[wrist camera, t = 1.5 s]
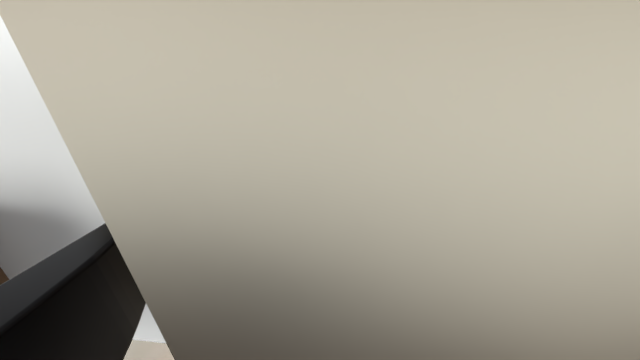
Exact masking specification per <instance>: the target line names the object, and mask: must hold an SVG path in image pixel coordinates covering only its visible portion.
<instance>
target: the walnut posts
mask: <svg viewBox="0 0 640 360" xmlns="http://www.w3.org/2000/svg"><path fill="white" fill-rule="evenodd" d="M8 280H10V279H9V278H8V277H7V275H6V274H5V273H4V271H3V270H2V269H1V267H0V285H1V284H3V283H4V282H6V281H8Z"/></svg>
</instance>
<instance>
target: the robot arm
mask: <svg viewBox="0 0 640 360" xmlns="http://www.w3.org/2000/svg"><path fill="white" fill-rule="evenodd" d="M145 305H146V302H145V300H144V298H143V296H142V294H141V292H140V290H139V288H138V286H137V284H136V282H135V280H134V278H133V276H132V274H131V272H130V270H129V269H128V267H127V265H126V263H125V261H124V259H123V257H122V255H121V253H120V251H119V249H118V247H117V245H116V243H115V241H114V239H113V237H112V235H111V233H110V231H109V229H108V227H107V225H106V223H104V224H103V225H101V226H99V227H98V228H96V229H94V230H93V231H91V232H89V233H88V234H86V235H84V236H82V237H81V238H79V239H77V240H76V241H74V242H72V243H71V244H69V245H67V246H65V247H64V248H62V249H60V250H59V251H57V252H55V253H54V254H52V255H50V256H49V257H47V258H45V259H43V260H42V261H40V262H38V263H37V264H35V265H33V266H32V267H30V268H28V269H26V270H25V271H23V272H21V273H20V274H18V275H16V276H15V277H13V278H11V279H10V280H8V281H6V282H4V283H3V284H1V285H0V360H123V359H124V357H125V355H126V352H127V350H128V348H129V346H130V344H131V341H132V339H133V337H134V334H135V332H136V330H137V327H138V324H139V322H140V319H141V316H142V313H143V310H144V307H145Z"/></svg>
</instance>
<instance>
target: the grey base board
mask: <svg viewBox="0 0 640 360" xmlns="http://www.w3.org/2000/svg"><path fill="white" fill-rule="evenodd" d="M104 223H105V221H104V219H103V217H102V215H101V213H100V211H99V209H98V207H97V205H96V203H95V201H94V199H93V197H92V195H91V193H90V192H89V190H88V188H87V186H86V184H85V182H84V180H83V178H82V176H81V174H80V172H79V170H78V168H77V166H76V164H75V162H74V160H73V158H72V156H71V154H70V152H69V150H68V148H67V146H66V144H65V142H64V140H63V138H62V136H61V134H60V132H59V130H58V128H57V126H56V124H55V122H54V120H53V118H52V116H51V114H50V113H49V111H48V109H47V107H46V105H45V103H44V101H43V99H42V97H41V95H40V93H39V91H38V89H37V87H36V85H35V83H34V81H33V79H32V77H31V75H30V73H29V71H28V69H27V67H26V65H25V63H24V61H23V59H22V57H21V55H20V53H19V51H18V49H17V47H16V45H15V43H14V41H13V39H12V37H11V36H10V34H9V32H8V30H7V28H6V26H5V24H4V22H3V20H2V18H1V16H0V267H1V269H2V270H3V271H4V273H5V274H6V275H7V277H8V278H9V279H11V278H13V277H15V276H16V275H18V274H20V273H21V272H23V271H25V270H26V269H28V268H30V267H32V266H33V265H35V264H37V263H38V262H40V261H42V260H43V259H45V258H47V257H49V256H50V255H52V254H54V253H55V252H57V251H59V250H60V249H62V248H64V247H65V246H67V245H69V244H71V243H72V242H74V241H76V240H77V239H79V238H81V237H82V236H84V235H86V234H88V233H89V232H91V231H93V230H94V229H96V228H98V227H99V226H101V225H103V224H104ZM132 340H141V341H150V342H159V343H166V342H165V340H164V338H163V336H162V334H161V332H160V330H159V328H158V326H157V324H156V322H155V320H154V318H153V316H152V314H151V312H150V310H149V308H148V306H147V304H146V305H145V307H144V310H143V313H142V316H141V319H140V322H139V324H138V327H137V330H136V332H135V334H134V337H133V339H132Z"/></svg>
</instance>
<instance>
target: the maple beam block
mask: <svg viewBox="0 0 640 360" xmlns="http://www.w3.org/2000/svg"><path fill="white" fill-rule="evenodd" d="M0 16H1V18H2V20H3V22H4V24H5V26H6V28H7V30H8V32H9V34H10V36H11V37H12V39H13V41H14V43H15V45H16V47H17V49H18V51H19V53H20V55H21V57H22V59H23V61H24V63H25V65H26V67H27V69H28V71H29V73H30V75H31V77H32V79H33V81H34V83H35V85H36V87H37V89H38V91H39V93H40V95H41V97H42V99H43V101H44V103H45V105H46V107H47V109H48V111H49V113H50V114H51V116H52V118H53V120H54V122H55V124H56V126H57V128H58V130H59V132H60V134H61V136H62V138H63V140H64V142H65V144H66V146H67V148H68V150H69V152H70V154H71V156H72V158H73V160H74V162H75V164H76V166H77V168H78V170H79V172H80V174H81V176H82V178H83V180H84V182H85V184H86V186H87V188H88V190H89V192H90V193H91V195H92V197H93V199H94V201H95V203H96V205H97V207H98V209H99V211H100V213H101V215H102V217H103V219H104V221H105V223H106V225H107V227H108V229H109V231H110V233H111V235H112V237H113V239H114V241H115V243H116V245H117V247H118V249H119V251H120V253H121V255H122V257H123V259H124V261H125V263H126V265H127V267H128V269H129V270H130V272H131V274H132V276H133V278H134V280H135V282H136V284H137V286H138V288H139V290H140V292H141V294H142V296H143V298H144V300H145V302H146V304H147V306H148V308H149V310H150V312H151V314H152V316H153V318H154V320H155V322H156V324H157V326H158V328H159V330H160V332H161V334H162V336H163V338H164V340H165V342H166V344H167V346H168V347H169V349H170V351H171V353H172V355H173V357H174V359H175V360H640V0H0Z"/></svg>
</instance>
